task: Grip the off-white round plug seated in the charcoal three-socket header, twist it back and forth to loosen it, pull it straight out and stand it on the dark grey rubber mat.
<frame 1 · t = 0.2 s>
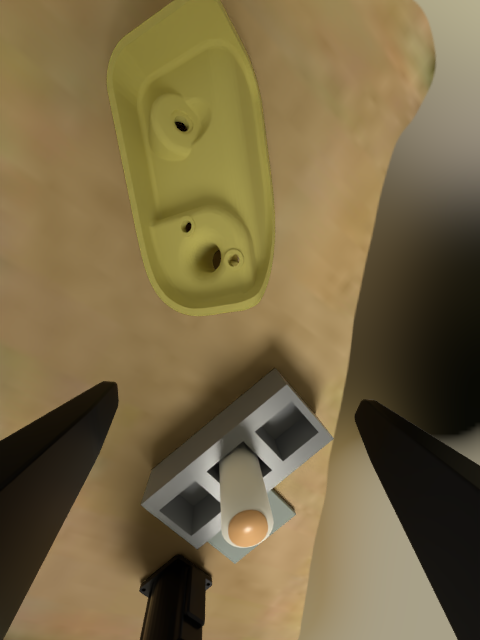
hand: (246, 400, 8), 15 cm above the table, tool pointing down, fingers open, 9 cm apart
plastic component: (202, 199, 21), on the table
mat: (244, 517, 28), on the table
plug: (236, 448, 25), point 1 cm above the table, touching header
header: (235, 441, 26), on the table
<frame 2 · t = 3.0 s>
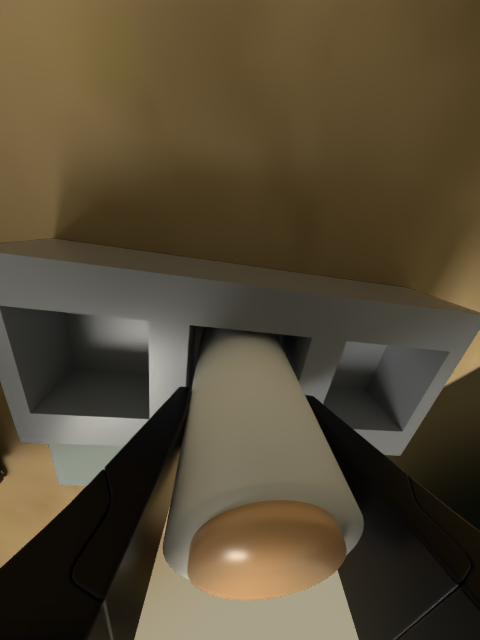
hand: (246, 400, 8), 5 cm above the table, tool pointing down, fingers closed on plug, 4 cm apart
mat: (133, 442, 15), on the table
plug: (238, 344, 12), point 1 cm above the table, touching gripper, header
header: (237, 336, 13), on the table
when the fingers open (5 cm above the table, at t = 9.2 s): plug stays where it is, resting on mat.
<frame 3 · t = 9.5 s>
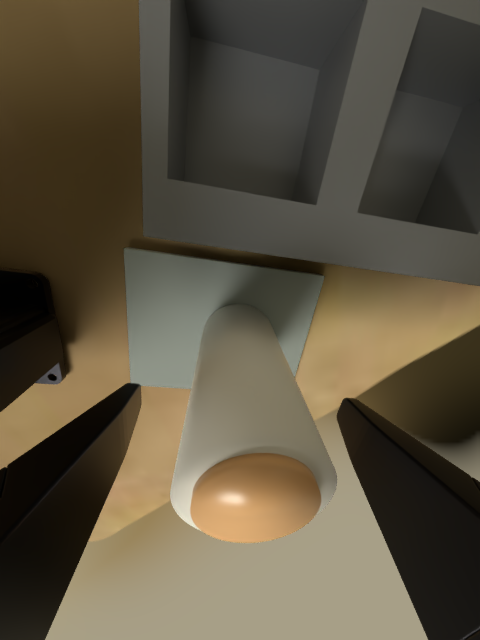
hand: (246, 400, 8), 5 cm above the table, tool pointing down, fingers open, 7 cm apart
mat: (220, 330, 13), on the table
plug: (237, 337, 13), point 1 cm above the table, touching mat
header: (372, 170, 10), on the table
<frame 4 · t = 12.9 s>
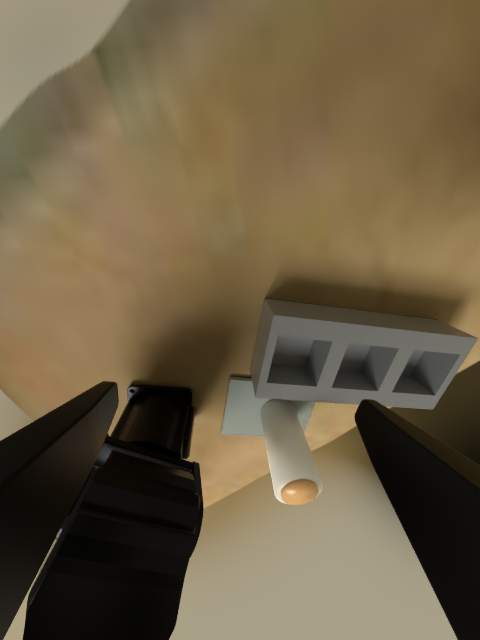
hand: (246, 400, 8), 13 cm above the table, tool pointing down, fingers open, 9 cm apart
mat: (268, 408, 26), on the table
plug: (277, 412, 25), point 1 cm above the table, touching mat
header: (341, 345, 23), on the table
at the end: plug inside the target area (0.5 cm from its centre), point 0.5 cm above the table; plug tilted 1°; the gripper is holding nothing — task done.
